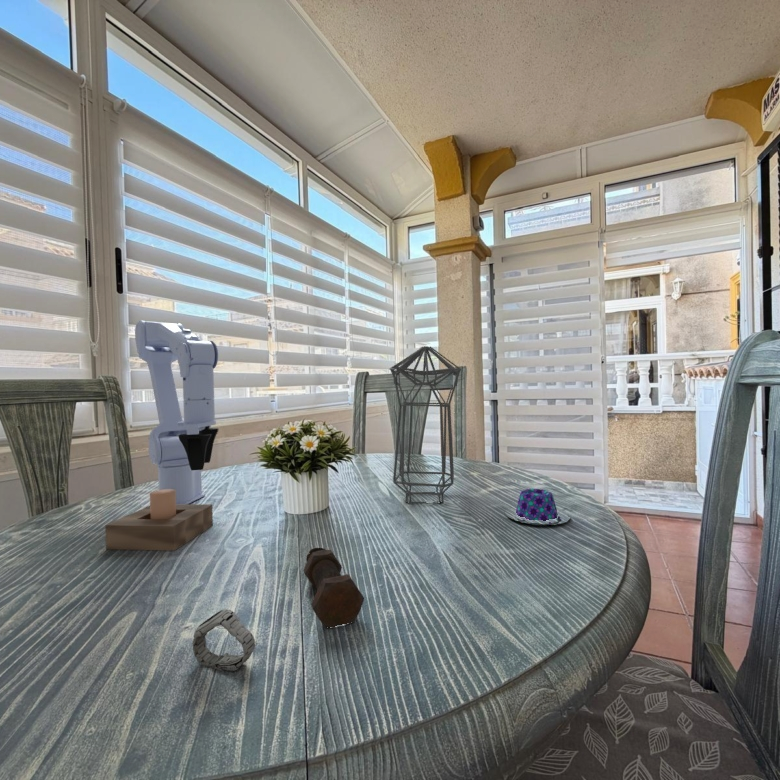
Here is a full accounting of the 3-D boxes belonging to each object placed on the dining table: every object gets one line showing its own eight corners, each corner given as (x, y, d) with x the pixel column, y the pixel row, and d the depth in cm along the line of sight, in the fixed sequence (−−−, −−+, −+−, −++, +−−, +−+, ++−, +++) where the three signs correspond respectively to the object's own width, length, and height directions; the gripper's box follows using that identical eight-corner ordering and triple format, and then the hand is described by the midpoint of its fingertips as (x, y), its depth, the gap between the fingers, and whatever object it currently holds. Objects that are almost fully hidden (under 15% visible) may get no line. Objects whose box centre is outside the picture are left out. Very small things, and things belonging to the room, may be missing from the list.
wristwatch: (209, 649, 42) (207, 600, 42) (262, 659, 40) (260, 608, 40) (182, 672, 39) (181, 619, 39) (239, 684, 37) (237, 629, 37)
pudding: (579, 530, 73) (578, 501, 73) (509, 529, 75) (508, 500, 75) (560, 510, 85) (560, 484, 85) (500, 508, 87) (500, 483, 87)
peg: (169, 531, 77) (168, 488, 77) (181, 535, 75) (179, 491, 75) (147, 537, 74) (145, 492, 74) (157, 542, 71) (156, 496, 71)
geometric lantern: (395, 489, 104) (396, 349, 104) (459, 491, 102) (459, 349, 102) (386, 507, 88) (386, 342, 88) (461, 510, 86) (461, 342, 86)
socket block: (154, 524, 81) (153, 504, 81) (212, 525, 80) (212, 504, 79) (106, 549, 69) (105, 525, 69) (174, 550, 68) (173, 526, 68)
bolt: (323, 582, 60) (347, 638, 46) (291, 570, 58) (306, 623, 44) (341, 544, 61) (371, 587, 47) (311, 531, 59) (331, 571, 45)
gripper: (185, 399, 91) (187, 461, 91) (167, 401, 77) (170, 474, 77) (220, 398, 92) (221, 459, 93) (208, 400, 78) (211, 472, 79)
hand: (200, 466), depth 85 cm, fingers open, 7 cm apart
